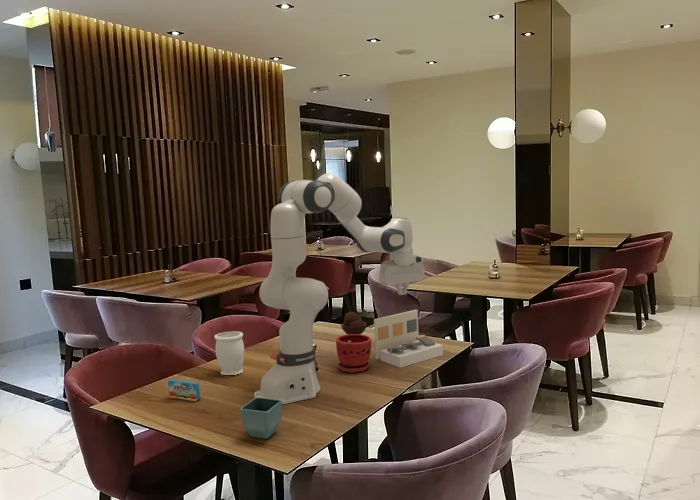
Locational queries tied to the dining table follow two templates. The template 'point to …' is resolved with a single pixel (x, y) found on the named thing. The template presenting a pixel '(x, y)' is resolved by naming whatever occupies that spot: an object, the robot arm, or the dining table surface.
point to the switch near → (396, 348)
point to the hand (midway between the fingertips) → (402, 294)
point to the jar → (230, 352)
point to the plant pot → (353, 352)
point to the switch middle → (411, 344)
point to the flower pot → (261, 416)
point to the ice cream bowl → (353, 324)
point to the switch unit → (402, 340)
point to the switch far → (425, 340)
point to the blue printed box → (184, 389)
